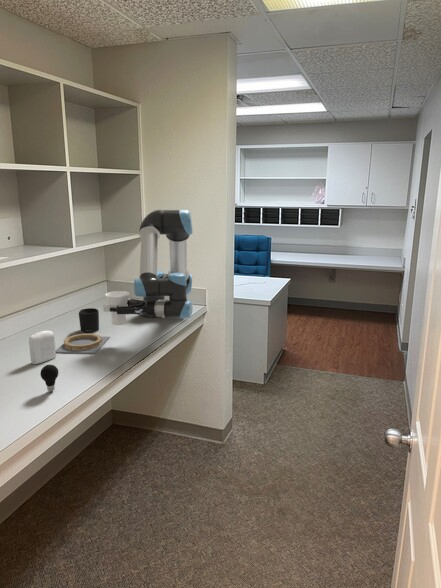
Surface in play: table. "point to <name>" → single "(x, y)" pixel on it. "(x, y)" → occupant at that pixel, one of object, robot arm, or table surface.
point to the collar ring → (85, 346)
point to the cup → (120, 300)
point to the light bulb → (49, 376)
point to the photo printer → (42, 347)
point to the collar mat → (82, 342)
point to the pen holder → (89, 320)
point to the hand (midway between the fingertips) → (108, 305)
